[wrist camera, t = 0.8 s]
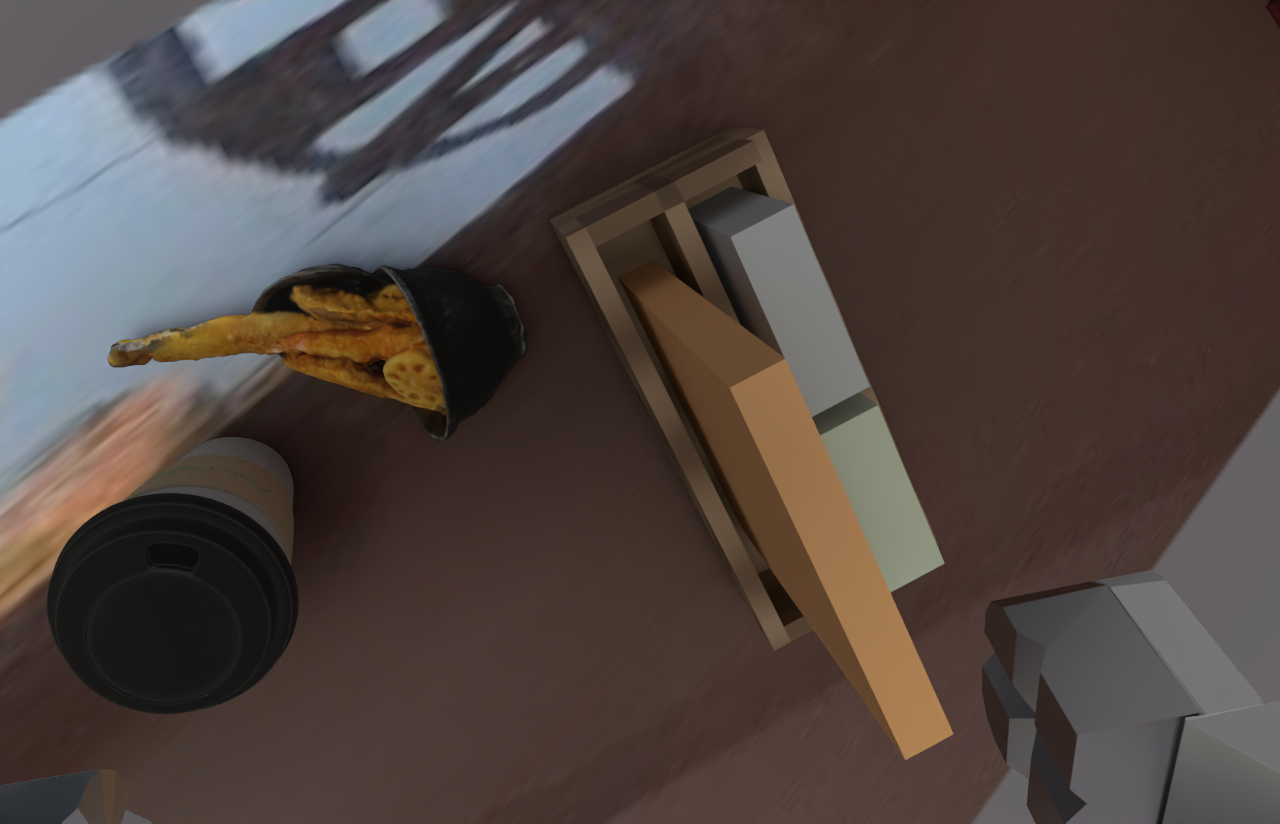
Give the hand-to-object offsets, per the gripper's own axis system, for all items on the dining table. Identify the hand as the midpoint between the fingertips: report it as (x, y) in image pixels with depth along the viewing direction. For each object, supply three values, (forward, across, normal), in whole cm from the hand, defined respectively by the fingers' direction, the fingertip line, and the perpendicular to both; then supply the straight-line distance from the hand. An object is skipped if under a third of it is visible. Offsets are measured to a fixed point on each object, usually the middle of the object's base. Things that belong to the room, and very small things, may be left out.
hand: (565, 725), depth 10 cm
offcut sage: (+40, +11, -27) cm, 50 cm away
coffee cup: (+40, -20, -23) cm, 50 cm away
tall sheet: (+40, +5, -23) cm, 47 cm away
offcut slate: (+42, +8, -18) cm, 47 cm away
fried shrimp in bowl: (+42, -12, -16) cm, 47 cm away
